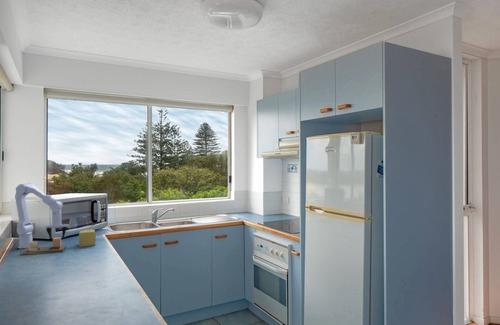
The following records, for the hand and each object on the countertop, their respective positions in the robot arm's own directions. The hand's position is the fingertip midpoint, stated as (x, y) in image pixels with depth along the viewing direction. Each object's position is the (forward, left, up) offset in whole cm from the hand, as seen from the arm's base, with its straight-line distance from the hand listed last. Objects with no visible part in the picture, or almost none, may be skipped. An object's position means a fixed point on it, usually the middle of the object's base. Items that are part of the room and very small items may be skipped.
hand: (57, 238), depth 240 cm
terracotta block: (0, 0, -6) cm, 6 cm away
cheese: (-2, +19, -7) cm, 20 cm away
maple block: (+9, -12, -6) cm, 16 cm away
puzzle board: (+9, -6, -6) cm, 13 cm away
